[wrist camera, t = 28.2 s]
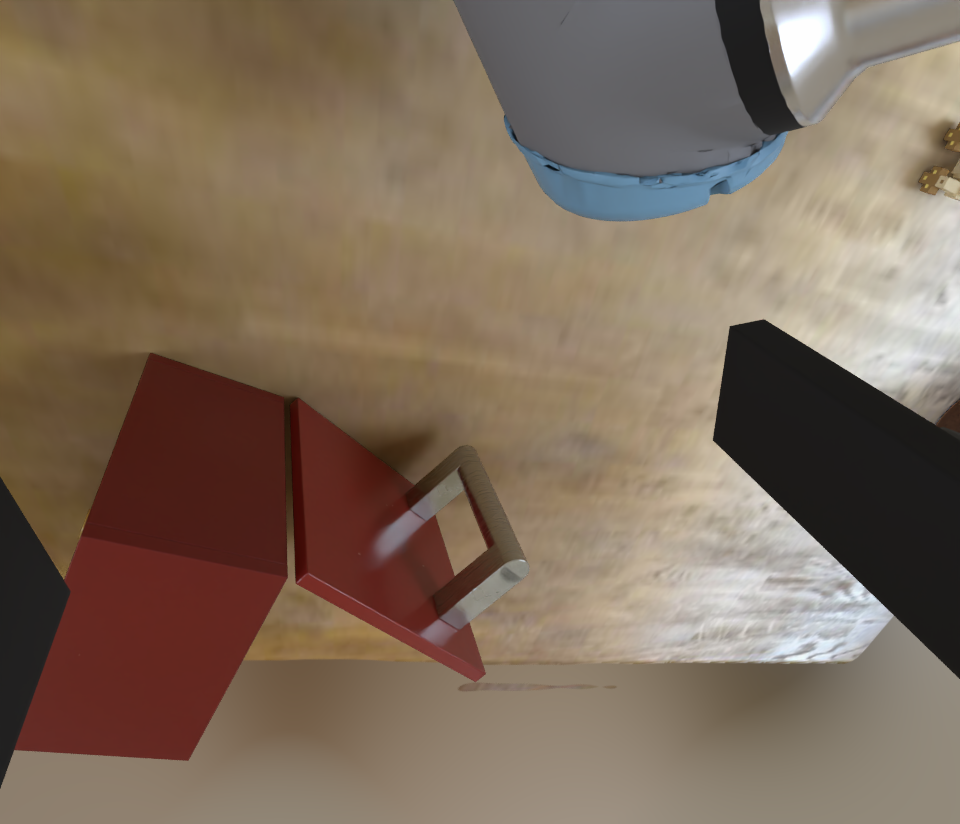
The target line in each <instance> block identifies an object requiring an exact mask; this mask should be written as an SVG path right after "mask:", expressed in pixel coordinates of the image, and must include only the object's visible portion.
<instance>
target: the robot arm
mask: <svg viewBox="0 0 960 824" xmlns="http://www.w3.org/2000/svg"><path fill="white" fill-rule="evenodd" d="M453 1H454V3H455V5H456V7H457V9H458V12H459V14H460V16H461V18H462V20H463V23H464V25H465V27H466V29H467V31H468V34H469V36H470V38H471V40H472V42H473V45H474V47H475V49H476V51H477V53H478V56H479V58H480V60H481V62H482V64H483V67H484V69H485V71H486V73H487V75H488V78H489V80H490V82H491V84H492V86H493V89H494V91H495V93H496V95H497V97H498V100H499V102H500V104H501V106H502V108H503V111H504V113H505V116H504V122H505V126H506V129H507V132H508V134H509V136H510V138H511V140H512V141H513V143H514V144H516V146H517V147H518V149H519V150H520V151H521V152H522V153H523V154H524V156H525V158H526V160H527V162H528V164H529V166H530V168H531V170H532V172H533V174H534V176H535V178H536V180H537V182H538V184H539V185H540V187H541V188H542V190H543V191H544V192H545V194H547V195H548V196H549V197H550V198H551V199H552V200H553V201H554V202H555V203H556V204H557V205H559V206H561V207H562V208H563V209H565V210H567V211H569V212H572V213H574V214H577V215H579V216H582V217H586V218H591V219H596V220H604V221H638V220H648V219H655V218H660V217H666V216H670V215H675V214H679V213H682V212H686V211H689V210H692V209H695V208H698V207H701V206H703V205H706V204H707V203H708V201H709V197H710V195H713V194H731V193H733V192H735V191H737V190H739V189H740V188H742V187H744V186H745V185H747V184H749V183H750V182H752V181H753V180H754V179H755V178H757V177H758V176H759V175H761V174H762V173H763V172H764V171H765V170H766V169H767V168H768V167H769V166H770V165H771V164H772V163H773V162H774V161H775V159H776V158H777V156H778V155H779V153H780V151H781V149H782V147H783V145H784V142H785V138H786V135H787V133H788V131H791V130H795V129H799V128H803V127H807V126H811V125H815V124H818V123H819V122H821V121H822V120H823V119H824V118H825V116H826V115H827V114H828V112H829V111H830V110H831V109H832V107H833V106H834V105H835V104H836V102H837V101H838V100H839V98H840V97H841V96H842V95H843V93H844V92H845V91H846V90H847V88H848V87H849V86H850V84H851V83H852V82H853V81H854V79H855V78H856V77H857V76H859V75H860V74H861V73H862V72H864V71H865V70H866V69H867V68H869V67H871V66H875V65H878V64H882V63H885V62H889V61H892V60H896V59H900V58H903V57H907V56H910V55H914V54H917V53H921V52H924V51H928V50H931V49H935V48H938V47H942V46H945V45H949V44H952V43H956V42H959V41H960V0H453ZM713 441H714V442H715V443H716V444H717V445H718V446H719V447H720V448H721V449H723V450H724V451H725V452H726V453H727V454H728V455H729V456H730V457H731V458H732V459H733V460H734V461H735V462H736V463H737V464H738V465H739V466H740V467H741V468H742V469H743V470H744V471H745V472H746V473H747V474H748V475H749V476H750V477H751V478H753V479H754V480H755V481H756V482H757V483H758V484H759V485H760V486H761V487H762V488H763V489H764V490H765V491H766V492H767V493H768V494H769V495H770V496H771V497H772V498H773V499H774V500H775V501H776V502H777V503H778V504H779V505H780V506H781V507H783V508H784V509H785V510H786V511H787V512H788V513H789V514H790V515H791V516H792V517H793V518H794V519H795V520H796V521H797V522H798V523H799V524H800V525H801V526H802V527H803V528H804V529H805V530H806V531H807V532H808V533H809V534H810V535H811V536H813V537H814V538H815V539H816V540H817V541H818V542H819V543H820V544H821V545H822V546H823V547H824V548H825V549H826V550H827V551H828V552H829V553H830V554H831V555H832V556H833V557H834V558H835V559H836V560H837V561H838V562H839V563H840V564H841V565H843V566H844V567H845V568H846V569H847V570H848V571H849V572H850V573H851V574H852V575H853V576H854V577H855V578H856V579H857V580H858V581H859V582H860V583H861V584H862V585H863V586H864V587H865V588H866V589H867V590H868V591H869V592H870V593H871V594H873V595H874V596H875V597H876V598H877V599H878V600H879V601H880V602H881V603H882V604H883V605H884V606H885V607H886V608H887V609H888V610H889V611H890V612H891V613H892V614H893V615H894V616H896V618H897V619H898V620H899V621H901V623H903V624H904V625H905V626H906V627H907V628H908V629H909V630H910V631H911V632H912V633H913V634H914V635H915V636H916V637H917V638H918V639H919V640H920V641H921V642H922V643H923V644H924V645H925V646H926V647H927V648H928V649H929V650H930V651H932V652H933V653H934V654H935V655H936V656H937V657H938V658H939V659H940V660H941V661H942V662H943V663H944V664H945V665H946V666H947V667H948V668H949V669H950V670H951V671H952V672H953V673H954V674H955V675H956V676H957V677H958V678H959V679H960V433H959V432H956V431H953V430H950V429H948V428H945V427H940V428H939V427H938V426H936V425H934V424H933V423H931V422H930V421H928V420H926V419H925V418H923V417H921V416H920V415H918V414H917V413H915V412H913V411H912V410H910V409H908V408H907V407H905V406H904V405H902V404H900V403H899V402H897V401H895V400H894V399H892V398H891V397H889V396H887V395H886V394H884V393H883V392H881V391H879V390H878V389H876V388H874V387H873V386H871V385H870V384H868V383H866V382H865V381H863V380H861V379H860V378H858V377H857V376H855V375H853V374H852V373H850V372H849V371H847V370H845V369H844V368H842V367H840V366H839V365H837V364H836V363H834V362H832V361H831V360H829V359H827V358H826V357H824V356H823V355H821V354H819V353H818V352H816V351H814V350H813V349H811V348H810V347H808V346H806V345H805V344H803V343H802V342H800V341H798V340H797V339H795V338H793V337H792V336H790V335H789V334H787V333H785V332H784V331H782V330H780V329H779V328H777V327H776V326H774V325H772V324H771V323H769V322H768V321H766V320H759V321H754V322H749V323H744V324H739V325H734V326H730V329H729V335H728V342H727V349H726V356H725V362H724V369H723V376H722V382H721V389H720V396H719V402H718V409H717V416H716V423H715V429H714V436H713ZM70 593H71V591H70V589H69V588H68V586H67V585H66V583H65V581H64V580H63V578H62V576H61V575H60V573H59V572H58V570H57V568H56V567H55V565H54V563H53V562H52V560H51V559H50V557H49V555H48V554H47V552H46V550H45V549H44V547H43V546H42V544H41V542H40V541H39V539H38V537H37V536H36V534H35V533H34V531H33V529H32V528H31V526H30V524H29V523H28V521H27V519H26V518H25V516H24V515H23V513H22V511H21V510H20V508H19V506H18V505H17V503H16V502H15V500H14V498H13V497H12V495H11V493H10V492H9V490H8V489H7V487H6V485H5V484H4V482H3V480H2V479H1V477H0V788H1V785H2V782H3V779H4V777H5V774H6V771H7V768H8V765H9V763H10V760H11V757H12V754H13V751H14V749H15V746H16V743H17V740H18V738H19V735H20V732H21V729H22V726H23V724H24V721H25V718H26V715H27V713H28V710H29V707H30V704H31V701H32V699H33V696H34V693H35V690H36V687H37V685H38V682H39V679H40V676H41V674H42V671H43V668H44V665H45V662H46V660H47V657H48V654H49V651H50V648H51V646H52V643H53V640H54V637H55V635H56V632H57V629H58V626H59V623H60V621H61V618H62V615H63V612H64V610H65V607H66V604H67V601H68V598H69V596H70Z"/></svg>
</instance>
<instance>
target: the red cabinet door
mask: <svg viewBox="0 0 960 824" xmlns="http://www.w3.org/2000/svg"><path fill="white" fill-rule="evenodd" d="M290 429H291V459H292V488H293V518H294V548H295V578H296V584H297V585H299V586H301V587H303V588H305V589H306V590H308V591H310V592H312V593H314V594H316V595H317V596H319V597H321V598H323V599H325V600H327V601H328V602H330V603H332V604H334V605H336V606H338V607H339V608H341V609H343V610H345V611H347V612H348V613H350V614H352V615H354V616H356V617H358V618H359V619H361V620H363V621H365V622H367V623H369V624H370V625H372V626H374V627H376V628H378V629H380V630H381V631H383V632H385V633H387V634H389V635H390V636H392V637H394V638H396V639H398V640H400V641H401V642H403V643H405V644H407V645H409V646H411V647H412V648H414V649H416V650H418V651H420V652H422V653H423V654H425V655H427V656H429V657H431V658H432V659H434V660H436V661H438V662H440V663H442V664H443V665H445V666H447V667H449V668H451V669H453V670H454V671H456V672H458V673H460V674H462V675H464V676H466V677H467V678H469V679H471V680H473V681H474V682H476V681H477V680H479V679H480V678H482V677H483V676H484V675H485V674H486V673H485V669H484V666H483V663H482V660H481V657H480V654H479V651H478V647H477V644H476V641H475V638H474V635H473V632H472V629H471V626H470V621H471V620H472V619H474V618H475V617H476V616H477V615H479V614H480V613H481V612H482V611H484V610H485V609H486V608H487V607H489V606H490V605H491V604H492V603H494V602H495V601H496V600H497V599H499V598H500V597H501V596H502V595H504V594H505V593H506V592H507V591H509V590H510V589H511V588H512V587H514V586H515V585H516V584H517V583H519V582H520V581H521V580H522V579H524V578H525V577H526V576H527V574H528V572H529V564H528V562H527V560H526V557H525V555H524V553H523V551H522V549H521V547H520V544H519V542H518V540H517V538H516V536H515V534H514V531H513V529H512V527H511V525H510V523H509V521H508V518H507V516H506V514H505V512H504V510H503V508H502V505H501V503H500V501H499V499H498V497H497V495H496V492H495V490H494V488H493V486H492V484H491V482H490V479H489V477H488V475H487V473H486V471H485V469H484V466H483V464H482V462H481V460H480V458H479V456H478V453H477V451H476V450H475V448H473V447H472V446H468V445H465V446H461V447H459V448H457V449H456V450H455V451H454V452H453V453H451V454H450V455H449V456H448V457H447V458H446V459H445V460H443V461H442V462H441V463H440V464H439V465H438V466H436V467H435V468H434V469H433V470H432V471H431V472H430V473H428V474H427V475H426V476H425V477H424V478H423V479H421V480H420V481H419V482H418V483H417V484H416V485H413V484H412V483H411V482H409V481H408V480H407V479H405V478H404V477H403V476H401V475H400V474H399V473H397V472H396V471H395V470H393V469H392V468H391V467H389V466H388V465H387V464H385V463H384V462H383V461H381V460H380V459H379V458H377V457H376V456H375V455H373V454H372V453H371V452H370V451H368V450H367V449H366V448H364V447H363V446H362V445H360V444H359V443H358V442H356V441H355V440H354V439H352V438H351V437H350V436H348V435H347V434H346V433H344V432H343V431H342V430H340V429H339V428H338V427H336V426H335V425H334V424H332V423H331V422H330V421H329V420H327V419H326V418H325V417H323V416H322V415H321V414H319V413H318V412H317V411H315V410H314V409H313V408H311V407H310V406H309V405H307V404H306V403H305V402H303V401H302V400H301V399H299V398H297V399H296V400H295V401H294V402H293V403H291V404H290ZM463 490H464V491H465V493H466V496H467V498H468V501H469V503H470V506H471V508H472V511H473V513H474V516H475V518H476V521H477V523H478V526H479V528H480V531H481V533H482V536H483V538H484V541H485V543H486V546H487V549H488V550H487V551H485V552H484V553H483V554H482V555H481V556H479V557H478V558H477V559H476V560H474V561H473V562H472V563H471V564H470V565H468V566H467V567H466V568H465V569H463V570H462V571H461V572H460V573H459V574H457V575H456V576H455V575H454V572H453V569H452V566H451V563H450V560H449V557H448V554H447V550H446V547H445V544H444V541H443V538H442V535H441V532H440V528H439V525H438V522H437V519H436V516H435V514H436V513H437V512H438V511H440V510H441V509H442V508H443V507H444V506H445V505H447V504H448V503H449V502H450V501H451V500H453V499H454V498H455V497H456V496H457V495H458V494H460V493H461V492H462V491H463Z"/></svg>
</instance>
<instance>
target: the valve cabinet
mask: <svg viewBox="0 0 960 824" xmlns="http://www.w3.org/2000/svg"><path fill="white" fill-rule="evenodd" d="M287 578H288V574H287V530H286V478H285V425H284V397H282V396H279V395H276V394H273V393H270V392H267V391H264V390H261V389H258V388H255V387H252V386H249V385H246V384H243V383H240V382H237V381H234V380H231V379H228V378H225V377H222V376H219V375H216V374H213V373H210V372H207V371H204V370H201V369H198V368H195V367H192V366H189V365H186V364H183V363H180V362H177V361H174V360H171V359H168V358H165V357H162V356H159V355H156V354H153V353H150V354H149V357H148V360H147V362H146V365H145V367H144V370H143V373H142V375H141V378H140V381H139V383H138V386H137V389H136V391H135V394H134V396H133V399H132V402H131V404H130V407H129V410H128V412H127V415H126V418H125V420H124V423H123V425H122V428H121V431H120V433H119V436H118V439H117V441H116V444H115V447H114V449H113V452H112V455H111V457H110V460H109V462H108V465H107V468H106V470H105V473H104V476H103V478H102V481H101V484H100V486H99V489H98V491H97V494H96V497H95V499H94V502H93V505H92V507H91V510H90V513H89V515H88V518H87V520H86V523H85V526H84V528H83V531H82V534H81V536H80V539H79V542H78V544H77V547H76V550H75V552H74V555H73V558H72V560H71V563H70V565H69V568H68V571H67V573H66V576H65V579H64V581H65V583H66V585H67V586H68V588H69V589H70V591H71V593H70V596H69V598H68V601H67V604H66V607H65V610H64V612H63V615H62V618H61V621H60V623H59V626H58V629H57V632H56V635H55V637H54V640H53V643H52V646H51V648H50V651H49V654H48V657H47V660H46V662H45V665H44V668H43V671H42V674H41V676H40V679H39V682H38V685H37V687H36V690H35V693H34V696H33V699H32V701H31V704H30V707H29V710H28V713H27V715H26V718H25V721H24V724H23V726H22V729H21V732H20V735H19V738H18V740H17V743H16V746H15V749H14V750H22V751H38V752H39V751H40V752H54V753H71V754H72V753H73V754H87V755H103V756H120V757H136V758H153V759H168V760H187V761H188V760H189V759H190V757H191V755H192V753H193V751H194V749H195V748H196V746H197V744H198V742H199V740H200V738H201V737H202V735H203V733H204V731H205V729H206V727H207V725H208V724H209V722H210V720H211V718H212V716H213V714H214V713H215V711H216V709H217V707H218V705H219V703H220V701H221V700H222V698H223V696H224V694H225V692H226V690H227V688H228V687H229V685H230V683H231V681H232V679H233V678H234V675H235V674H236V672H237V670H238V668H239V666H240V665H241V663H242V661H243V659H244V657H245V655H246V654H247V652H248V650H249V648H250V646H251V644H252V642H253V641H254V639H255V637H256V635H257V633H258V631H259V630H260V628H261V626H262V624H263V622H264V620H265V618H266V617H267V615H268V613H269V611H270V609H271V607H272V606H273V604H274V602H275V600H276V598H277V596H278V595H279V593H280V591H281V589H282V587H283V585H284V583H285V582H286V580H287Z"/></svg>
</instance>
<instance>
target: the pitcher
mask: <svg viewBox="0 0 960 824" xmlns="http://www.w3.org/2000/svg"><path fill="white" fill-rule="evenodd" d="M936 426H938V427H939V428H940V427H945V428H948V429H950V430H953V431H956V432H959V433H960V400H959V401H958V402H956V403H955V404H954V405H953V406H952V407H951V408H950V409H949V410H948V411H947V412H946V413H945V414H944V415H943V416H942V417H941V419H940V420H939V421H938V423H937V424H936Z"/></svg>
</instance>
